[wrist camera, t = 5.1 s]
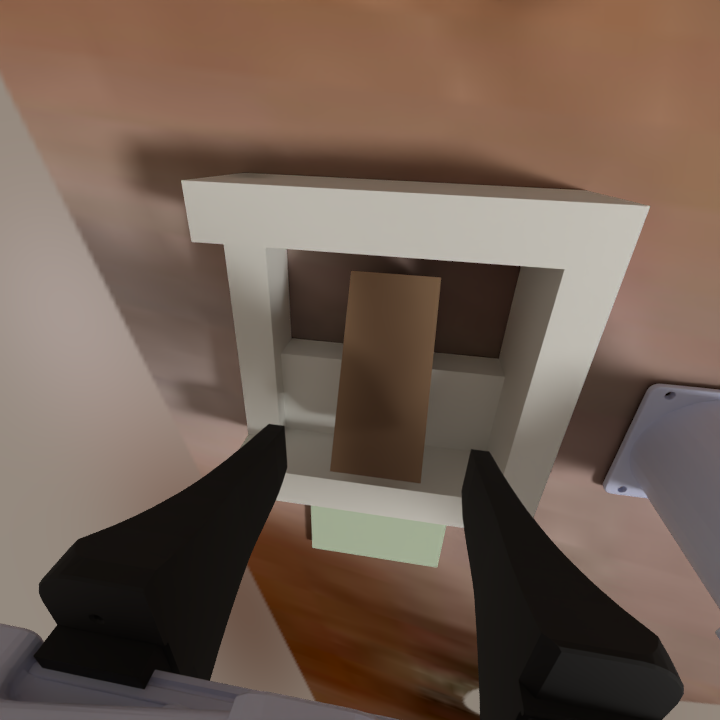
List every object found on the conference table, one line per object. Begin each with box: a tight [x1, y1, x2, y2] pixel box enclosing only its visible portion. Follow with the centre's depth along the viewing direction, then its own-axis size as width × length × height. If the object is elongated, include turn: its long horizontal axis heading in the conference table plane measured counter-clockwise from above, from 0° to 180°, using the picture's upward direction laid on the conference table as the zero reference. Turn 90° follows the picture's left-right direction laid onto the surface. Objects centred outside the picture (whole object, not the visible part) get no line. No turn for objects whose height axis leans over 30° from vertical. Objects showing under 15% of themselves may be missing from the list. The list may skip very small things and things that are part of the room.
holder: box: [181, 173, 650, 528], centre depth 20 cm, size 16×16×6 cm
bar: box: [330, 271, 441, 484], centre depth 19 cm, size 4×9×4 cm, turn 178°
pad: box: [311, 506, 446, 567], centre depth 29 cm, size 10×8×1 cm
